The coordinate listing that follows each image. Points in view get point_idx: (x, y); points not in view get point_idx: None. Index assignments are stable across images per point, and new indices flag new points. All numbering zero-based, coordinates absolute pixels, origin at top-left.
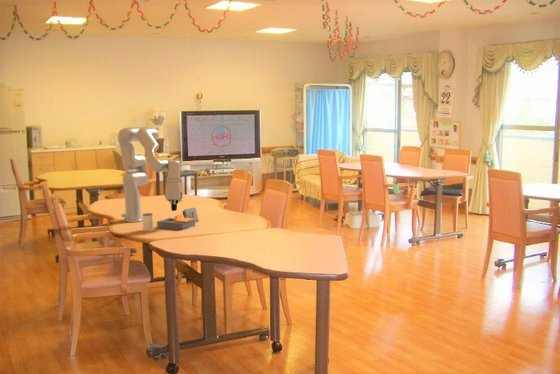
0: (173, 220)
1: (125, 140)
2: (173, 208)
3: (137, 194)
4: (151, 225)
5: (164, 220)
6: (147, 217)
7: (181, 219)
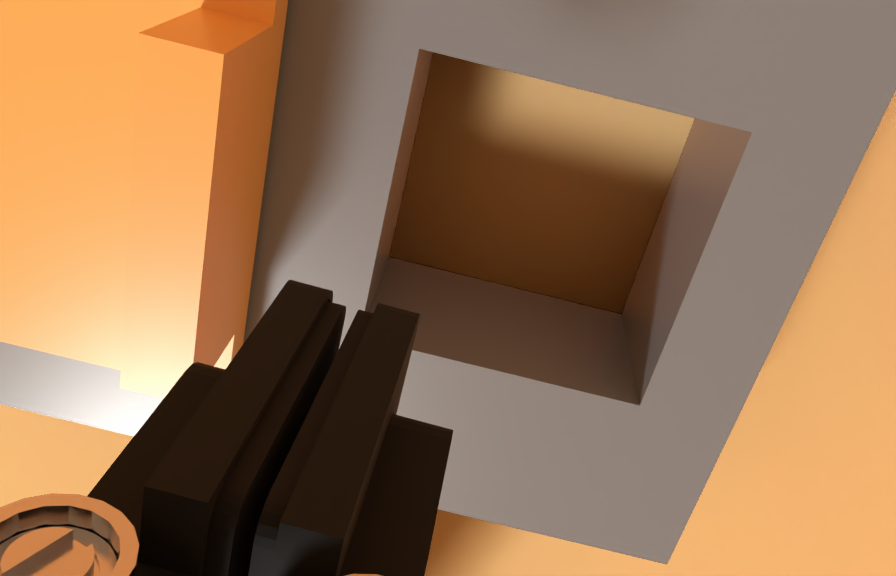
0: (498, 350)
1: None
2: (264, 337)
3: None
4: None
5: (731, 177)
6: None
7: (81, 105)
